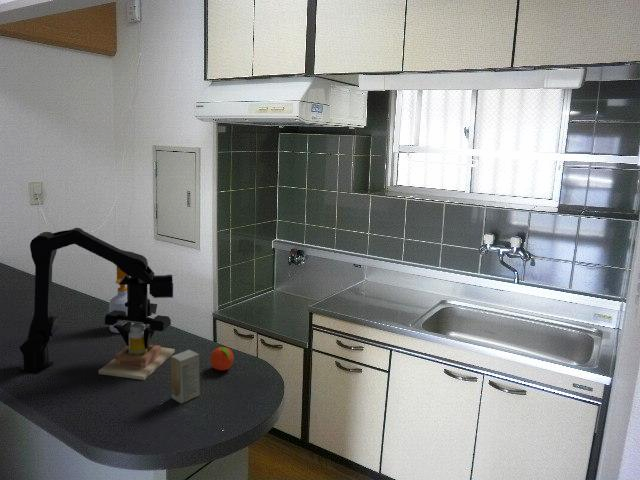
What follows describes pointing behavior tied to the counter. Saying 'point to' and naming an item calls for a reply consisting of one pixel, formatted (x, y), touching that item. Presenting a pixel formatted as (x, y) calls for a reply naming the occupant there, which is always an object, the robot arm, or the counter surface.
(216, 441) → the counter surface
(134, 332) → the supplement bottle
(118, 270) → the soap bottle
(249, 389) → the counter surface
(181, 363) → the skincare box
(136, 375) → the maple holder board
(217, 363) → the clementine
